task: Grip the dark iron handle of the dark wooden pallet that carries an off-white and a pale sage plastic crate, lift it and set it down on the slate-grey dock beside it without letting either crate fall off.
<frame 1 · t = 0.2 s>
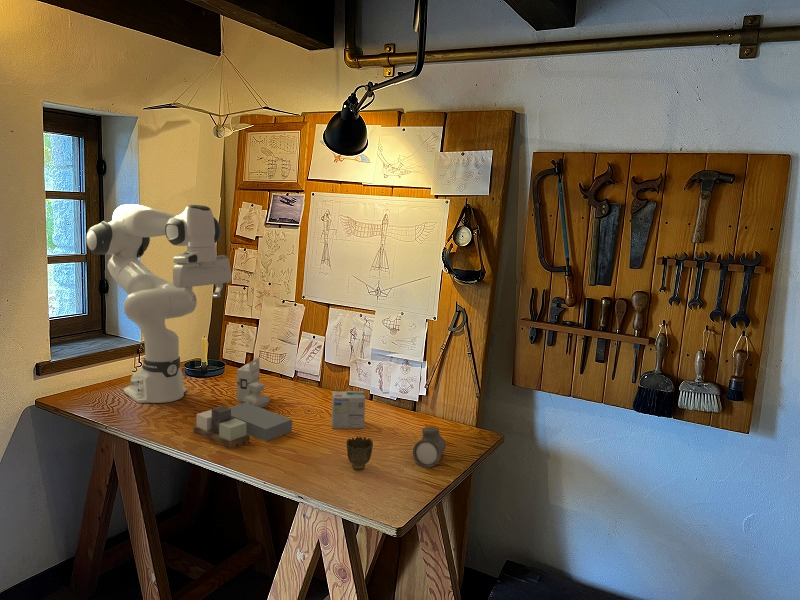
hand: (205, 299, 200), 39 cm above the table, fingers open, 8 cm apart
pipe fitting: (431, 460, 183), on the table
pallet: (221, 438, 190), on the table, touching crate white
ink box: (248, 398, 225), on the table
crate sage: (232, 435, 186), point 2 cm above the table
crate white: (209, 426, 193), point 2 cm above the table, touching pallet
cup: (358, 468, 175), on the table
light bulb box: (347, 425, 206), on the table
dock: (254, 426, 199), on the table
stamp: (256, 407, 216), on the table
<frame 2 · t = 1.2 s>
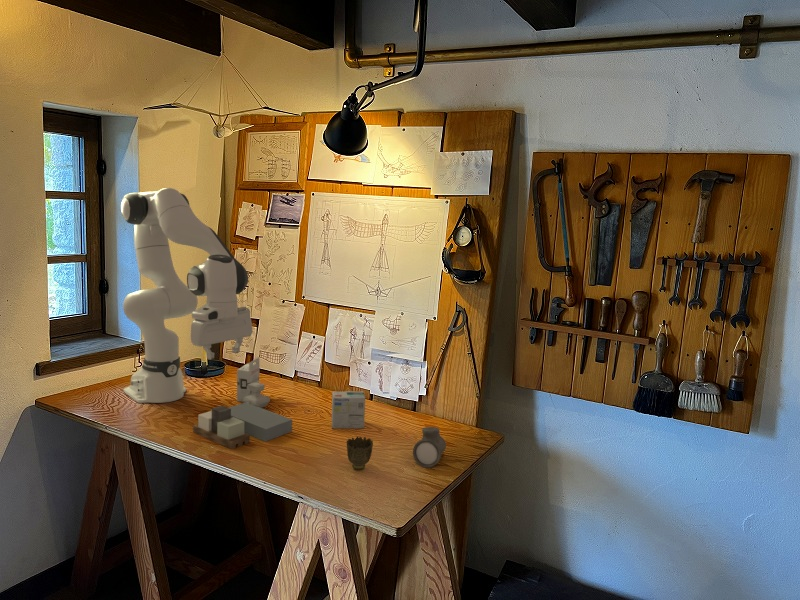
hand: (223, 355, 187), 25 cm above the table, fingers open, 8 cm apart
pallet: (221, 438, 190), on the table, touching crate sage, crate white
crate sage: (230, 434, 187), point 2 cm above the table, touching pallet
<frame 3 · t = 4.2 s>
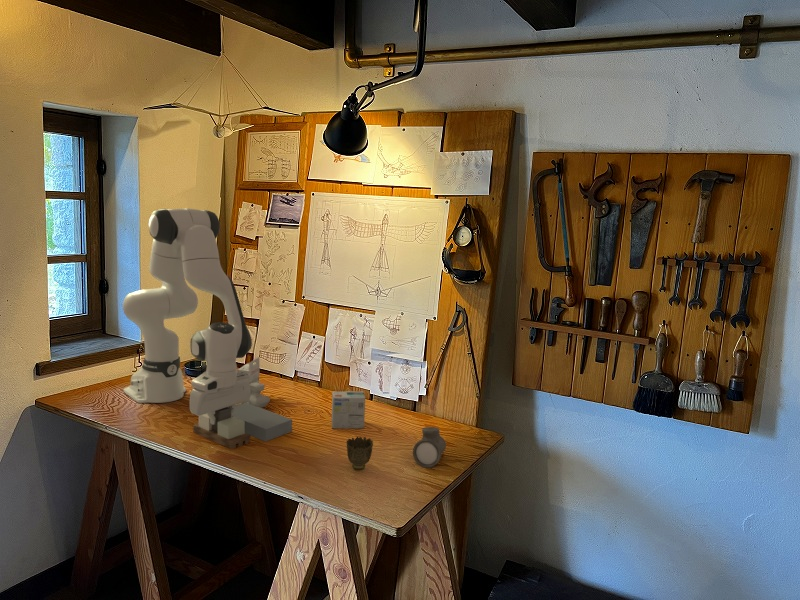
hand: (221, 421, 189), 5 cm above the table, fingers closed on pallet, 4 cm apart
pallet: (221, 437, 190), on the table, touching crate sage, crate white, gripper
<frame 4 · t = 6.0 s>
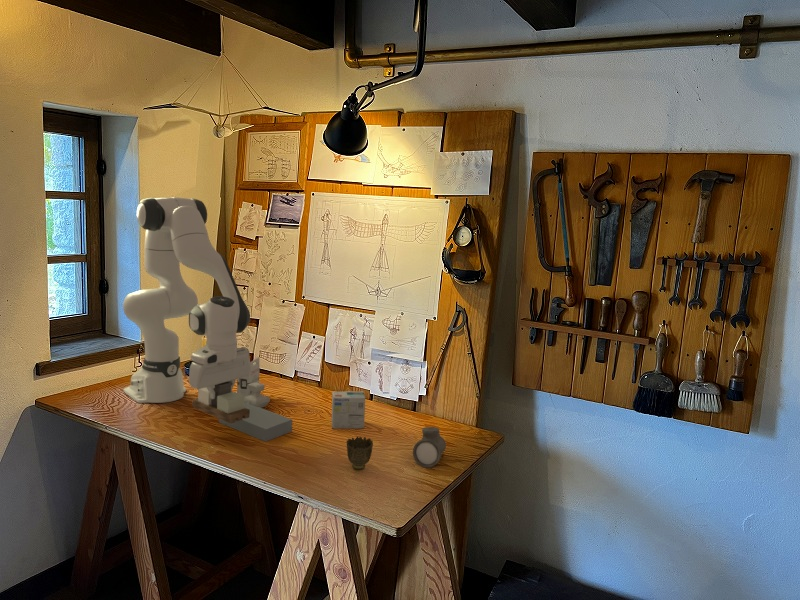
hand: (220, 396, 188), 13 cm above the table, fingers closed on pallet, 4 cm apart
pallet: (220, 412, 189), point 8 cm above the table, touching crate sage, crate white, gripper
crate sage: (230, 408, 186), point 10 cm above the table, touching pallet
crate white: (211, 400, 191), point 10 cm above the table, touching pallet
everything else where it was.
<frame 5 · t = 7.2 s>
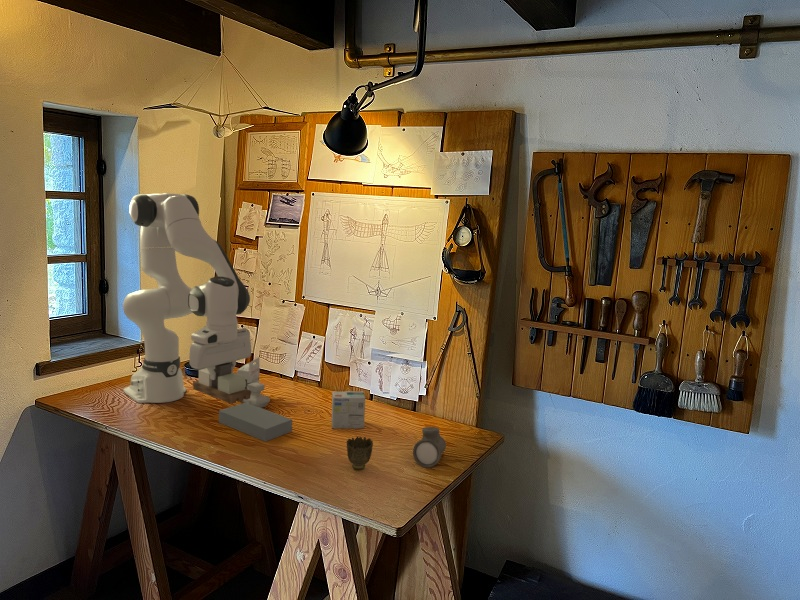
hand: (221, 377, 186), 19 cm above the table, fingers closed on pallet, 4 cm apart
pallet: (221, 393, 187), point 14 cm above the table, touching crate sage, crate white, gripper
crate sage: (231, 389, 184), point 16 cm above the table, touching pallet
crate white: (212, 382, 190), point 16 cm above the table, touching pallet
everything else where it was.
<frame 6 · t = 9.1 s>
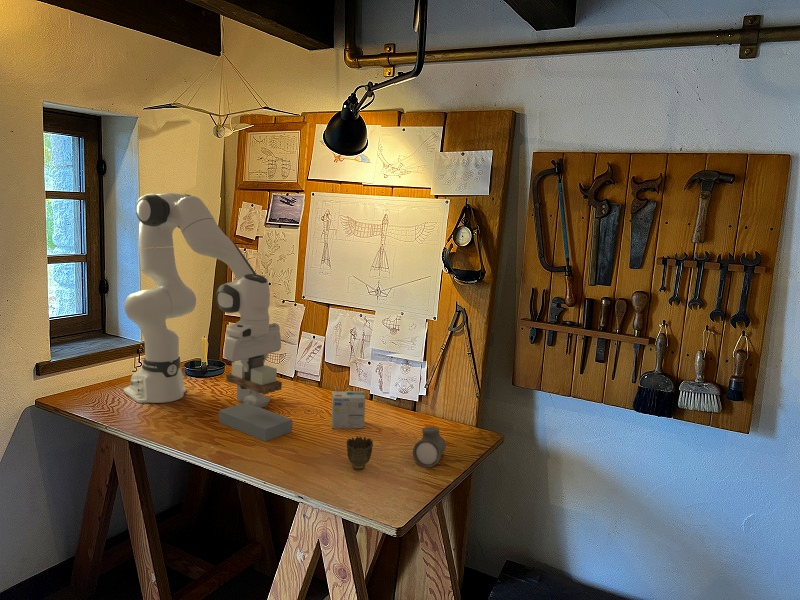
hand: (253, 369, 196), 19 cm above the table, fingers closed on pallet, 4 cm apart
pallet: (253, 385, 197), point 14 cm above the table, touching crate sage, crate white, gripper
crate sage: (263, 381, 194), point 16 cm above the table, touching pallet
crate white: (244, 374, 200), point 16 cm above the table, touching pallet
everything else where it was.
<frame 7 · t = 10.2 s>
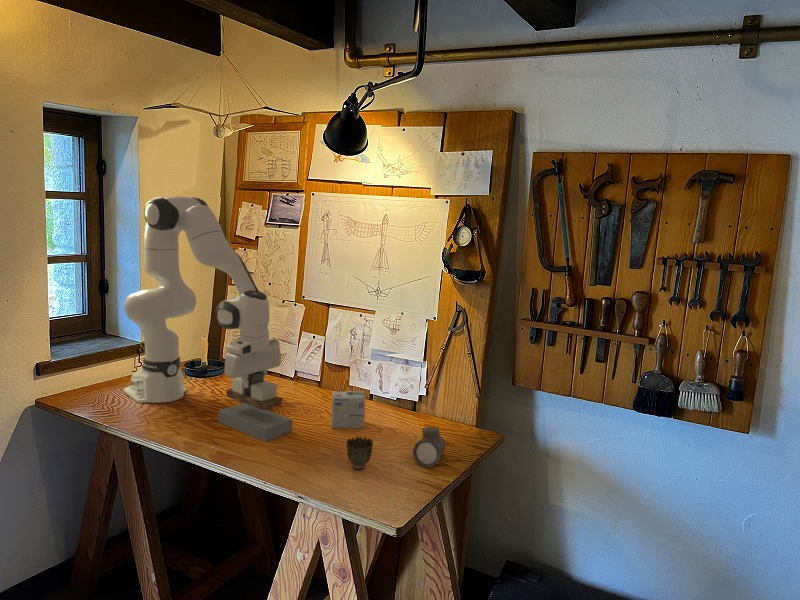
hand: (253, 385, 197), 14 cm above the table, fingers closed on pallet, 4 cm apart
pallet: (253, 400, 198), point 8 cm above the table, touching crate sage, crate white, gripper
crate sage: (263, 397, 195), point 11 cm above the table, touching pallet
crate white: (244, 390, 200), point 11 cm above the table, touching pallet
everything else where it was.
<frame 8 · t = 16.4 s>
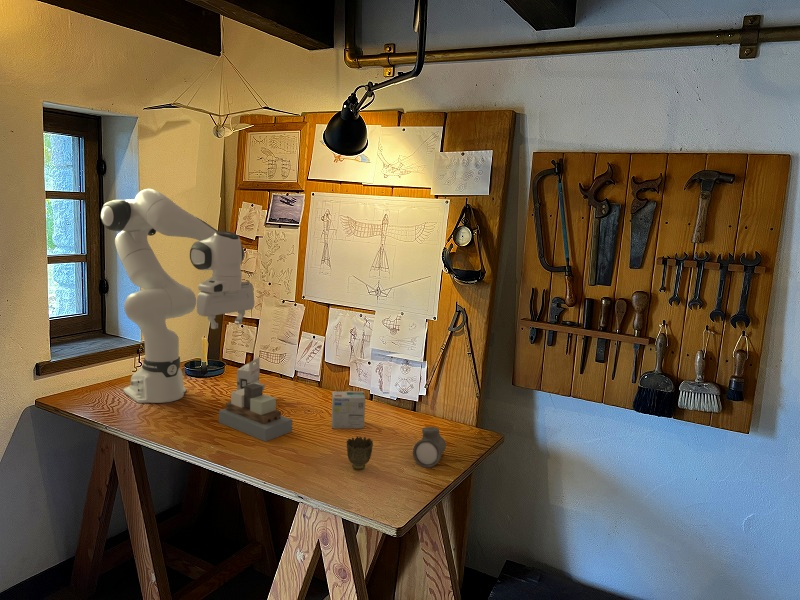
hand: (226, 326, 199), 31 cm above the table, fingers open, 8 cm apart
pallet: (252, 414, 199), point 4 cm above the table, touching crate sage, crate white, dock
crate sage: (262, 410, 196), point 6 cm above the table, touching pallet
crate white: (243, 403, 201), point 6 cm above the table, touching pallet
everything else where it was.
at the end: pallet inside the target area on the dock (1.1 cm from its centre), point 4.0 cm above the dock's base; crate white inside the target area on the pallet (1.0 cm from its centre), point 2.4 cm above the pallet's base; crate sage inside the target area on the pallet (1.0 cm from its centre), point 2.4 cm above the pallet's base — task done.
